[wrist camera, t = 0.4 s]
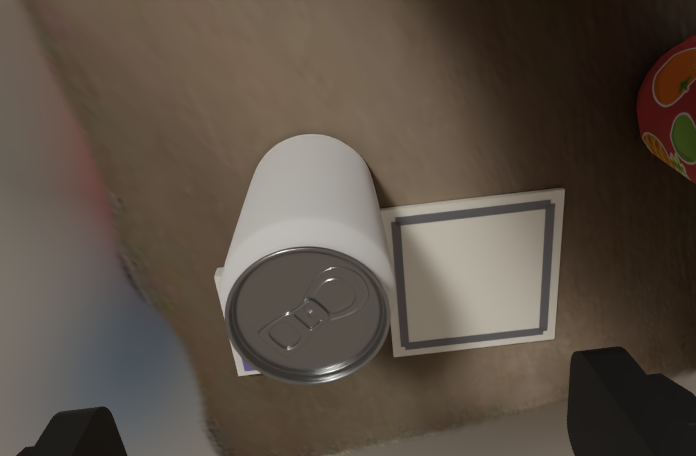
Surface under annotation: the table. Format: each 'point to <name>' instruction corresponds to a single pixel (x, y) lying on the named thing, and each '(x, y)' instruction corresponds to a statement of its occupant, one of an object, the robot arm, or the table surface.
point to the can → (309, 265)
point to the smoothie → (671, 108)
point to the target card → (475, 271)
